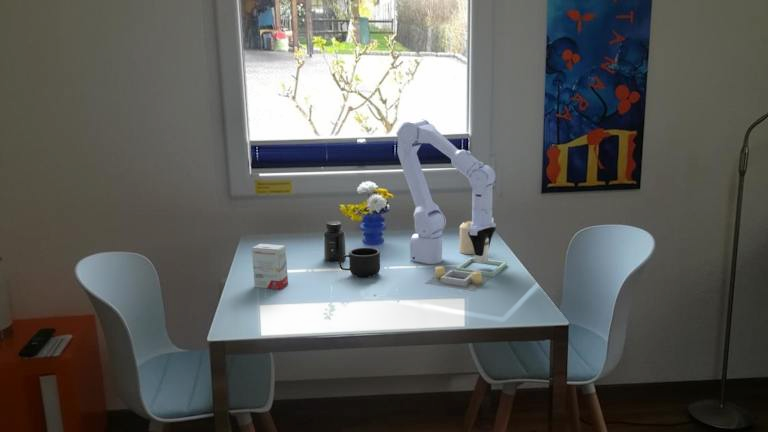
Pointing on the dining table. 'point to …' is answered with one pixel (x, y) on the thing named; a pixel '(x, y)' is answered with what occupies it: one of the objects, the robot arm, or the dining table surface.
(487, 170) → the robot arm
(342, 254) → the supplement bottle
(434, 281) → the fuse panel
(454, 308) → the dining table surface
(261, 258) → the ink box
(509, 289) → the dining table surface
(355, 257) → the mug
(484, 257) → the cylinder
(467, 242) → the candle
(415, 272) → the dining table surface
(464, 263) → the parts tray
